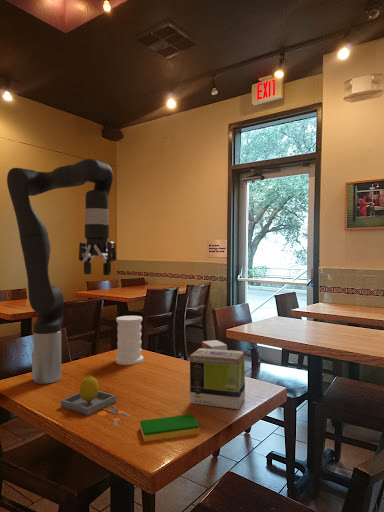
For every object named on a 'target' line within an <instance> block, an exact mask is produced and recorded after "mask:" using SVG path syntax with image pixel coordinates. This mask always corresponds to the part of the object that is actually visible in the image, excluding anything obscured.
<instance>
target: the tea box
mask: <svg viewBox="0 0 384 512" xmlns="http://www.w3.org/2000/svg"><path fill="white" fill-rule="evenodd" d="M245 370H246V369H245V351H244V350H231V349H230V350H229V349H227V350H220V349H206V348H202V347H199V348H198V349H197V350H195V351H194V352H192V353H191V354H190V355H189V395H190V396H189V399H190V400H189V401H190V402H189V403H190V404H194V405H203V406H211V407H219V408H225V409H234V410H240V408H241V406H242V405H243V401H244V400H245V397H246V395H245V394H246V388H245V387H246V382H245V381H246V376H245V375H246V373H245V372H246V371H245Z"/></svg>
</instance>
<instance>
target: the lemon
mask: <svg viewBox="0 0 384 512" xmlns="http://www.w3.org/2000/svg"><path fill="white" fill-rule="evenodd" d="M99 389H100V387H99V382H98V380H97V379H96V378H95V377H93V376H91V375H87V376H86V377H85V378H83V379H82V380H81V382H80V385H79V393H80V396H81V398H82V399H83V400H85V401H87V402H88V403H90V402H91V401H92V400H94V399H95V398H96V397H97V395H98V392H99V391H100V390H99Z"/></svg>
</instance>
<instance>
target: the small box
mask: <svg viewBox="0 0 384 512" xmlns="http://www.w3.org/2000/svg"><path fill="white" fill-rule="evenodd" d="M201 348H206V349H220V350H228V345H227V344H226V343H224V342H222V341H220V340H217V339H215V340H212V339H211V340H204V341H203V340H202V342H201Z"/></svg>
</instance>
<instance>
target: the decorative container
mask: <svg viewBox="0 0 384 512" xmlns="http://www.w3.org/2000/svg"><path fill="white" fill-rule="evenodd" d="M142 321H143V317H142V315H141V316H140V315H122V316H117V317H116V321H115V322H116V323H117V326H116V328H117V333H116V334H117V335H116V338H117V342H116V345H117V349H116V352H117V356H116V357H115V360H114V361H115V363H116V364H118V365H123V366H129V365H130V366H131V365H138V364H141V363H143V362H144V356H143V355H142V351H143V349H142V338H141V337H142V327H143V326H142Z"/></svg>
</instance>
